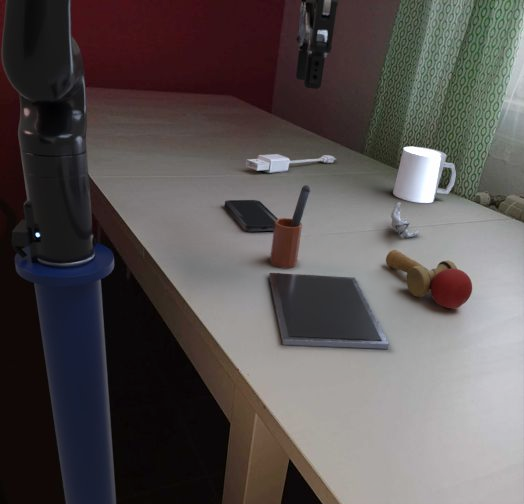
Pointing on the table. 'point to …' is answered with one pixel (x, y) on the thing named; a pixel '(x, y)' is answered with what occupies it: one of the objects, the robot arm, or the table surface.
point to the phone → (251, 215)
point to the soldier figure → (400, 223)
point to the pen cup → (285, 243)
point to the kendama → (434, 280)
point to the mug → (421, 174)
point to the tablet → (324, 312)
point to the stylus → (300, 206)
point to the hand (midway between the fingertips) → (307, 83)
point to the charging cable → (280, 162)
